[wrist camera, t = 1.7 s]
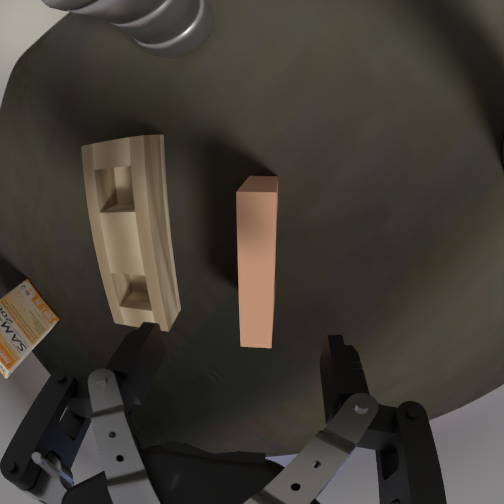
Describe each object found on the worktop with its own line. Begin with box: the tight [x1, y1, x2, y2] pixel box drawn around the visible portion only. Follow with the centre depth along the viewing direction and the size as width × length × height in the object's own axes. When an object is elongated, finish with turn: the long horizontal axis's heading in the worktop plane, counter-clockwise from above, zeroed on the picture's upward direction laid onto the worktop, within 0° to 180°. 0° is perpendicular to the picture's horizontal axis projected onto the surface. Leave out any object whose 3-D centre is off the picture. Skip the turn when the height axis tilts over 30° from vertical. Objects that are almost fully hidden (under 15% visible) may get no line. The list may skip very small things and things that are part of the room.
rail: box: [82, 134, 181, 331], centre depth 24 cm, size 6×18×4 cm, turn 0°
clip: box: [236, 176, 278, 348], centre depth 22 cm, size 2×12×7 cm, turn 0°
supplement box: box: [0, 279, 59, 378], centre depth 27 cm, size 8×5×13 cm, turn 38°
